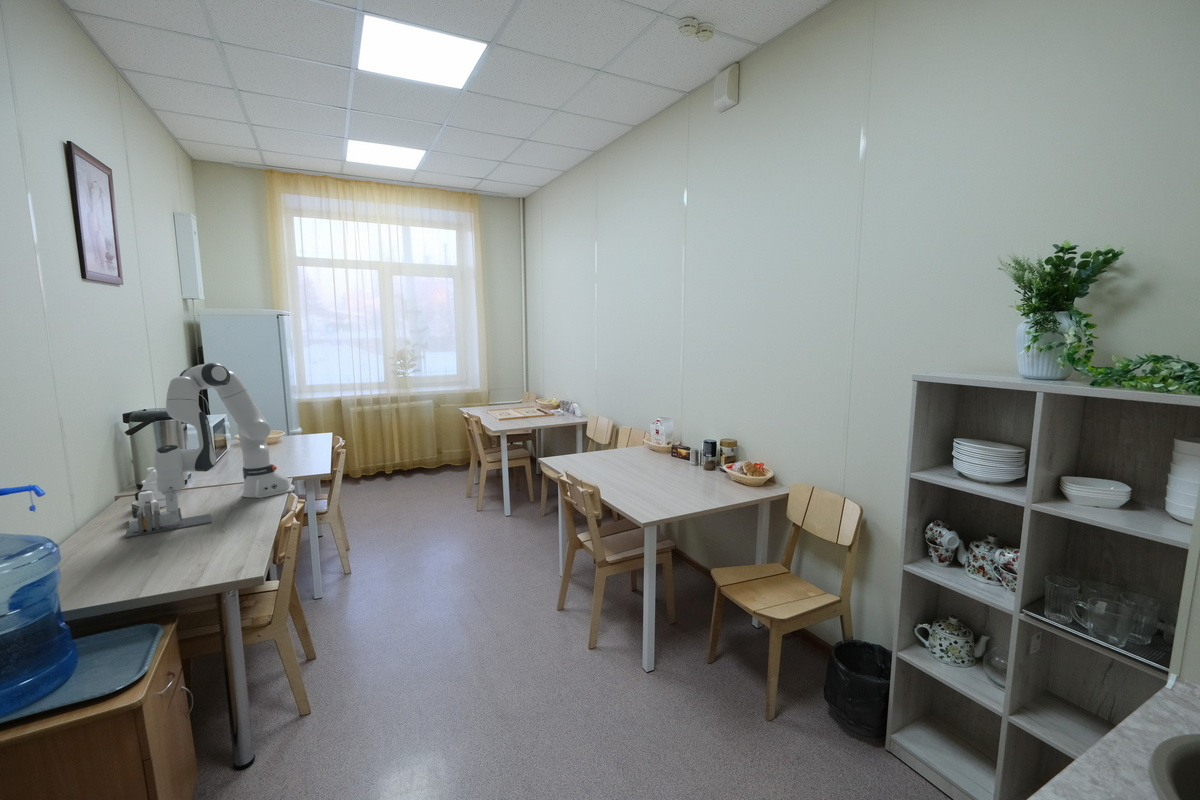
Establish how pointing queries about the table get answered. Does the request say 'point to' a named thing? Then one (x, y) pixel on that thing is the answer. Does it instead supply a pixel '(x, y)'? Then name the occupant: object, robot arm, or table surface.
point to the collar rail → (172, 526)
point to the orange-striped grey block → (163, 520)
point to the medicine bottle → (143, 501)
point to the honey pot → (153, 486)
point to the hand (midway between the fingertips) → (174, 516)
